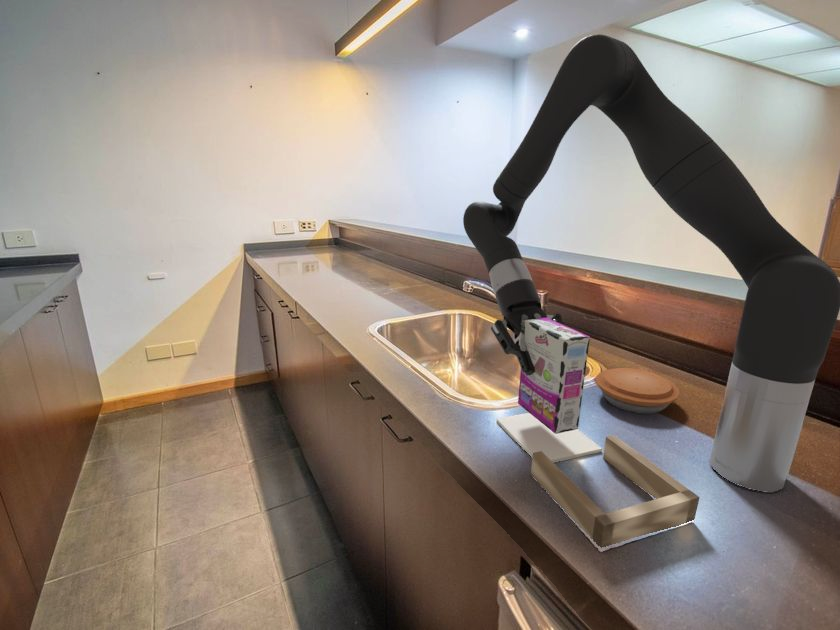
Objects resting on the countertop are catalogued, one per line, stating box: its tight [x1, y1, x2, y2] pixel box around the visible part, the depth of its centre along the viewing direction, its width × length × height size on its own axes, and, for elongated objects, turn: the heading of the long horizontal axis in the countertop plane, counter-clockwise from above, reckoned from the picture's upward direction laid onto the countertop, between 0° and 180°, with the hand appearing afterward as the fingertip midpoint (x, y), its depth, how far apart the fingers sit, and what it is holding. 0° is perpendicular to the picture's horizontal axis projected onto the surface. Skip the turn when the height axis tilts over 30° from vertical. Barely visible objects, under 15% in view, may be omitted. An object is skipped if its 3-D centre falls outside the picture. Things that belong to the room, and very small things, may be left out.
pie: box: [594, 367, 681, 415], centre depth 86 cm, size 15×16×5 cm
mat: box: [496, 412, 603, 464], centre depth 74 cm, size 12×14×1 cm
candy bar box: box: [517, 318, 591, 434], centre depth 71 cm, size 11×5×16 cm, turn 21°
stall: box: [530, 434, 700, 548], centre depth 59 cm, size 15×15×4 cm
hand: (544, 371), depth 73 cm, fingers closed on candy bar box, 5 cm apart
